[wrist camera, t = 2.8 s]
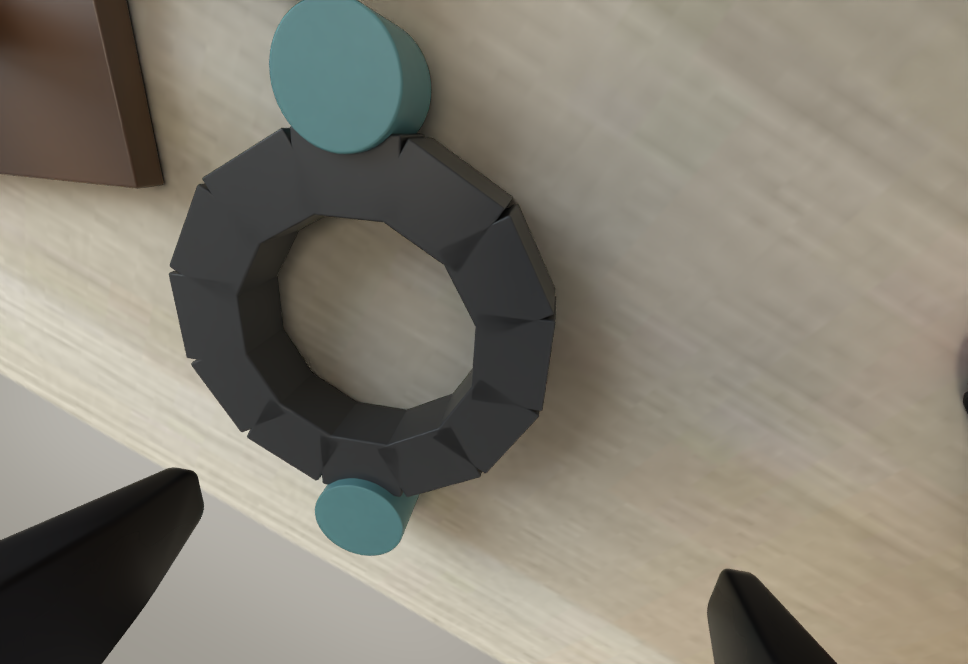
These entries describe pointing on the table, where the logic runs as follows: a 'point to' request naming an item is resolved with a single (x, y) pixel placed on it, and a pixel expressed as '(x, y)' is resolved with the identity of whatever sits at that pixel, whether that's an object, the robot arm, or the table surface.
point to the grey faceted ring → (373, 197)
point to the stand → (74, 94)
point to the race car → (966, 401)
